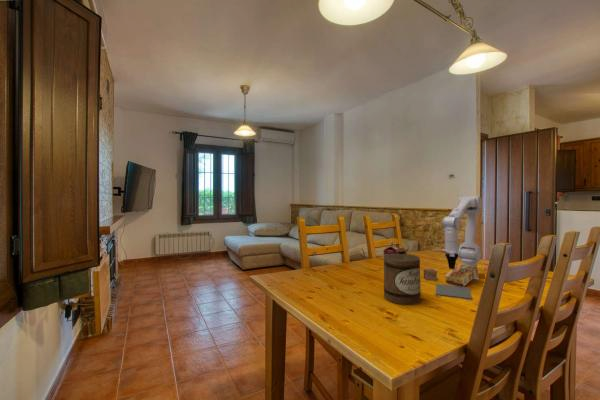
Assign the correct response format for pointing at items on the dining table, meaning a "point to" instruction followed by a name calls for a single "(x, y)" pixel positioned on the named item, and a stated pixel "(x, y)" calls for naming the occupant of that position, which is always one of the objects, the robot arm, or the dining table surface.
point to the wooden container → (402, 278)
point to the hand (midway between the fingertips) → (451, 268)
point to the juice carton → (391, 249)
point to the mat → (453, 291)
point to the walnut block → (430, 274)
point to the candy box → (461, 274)
